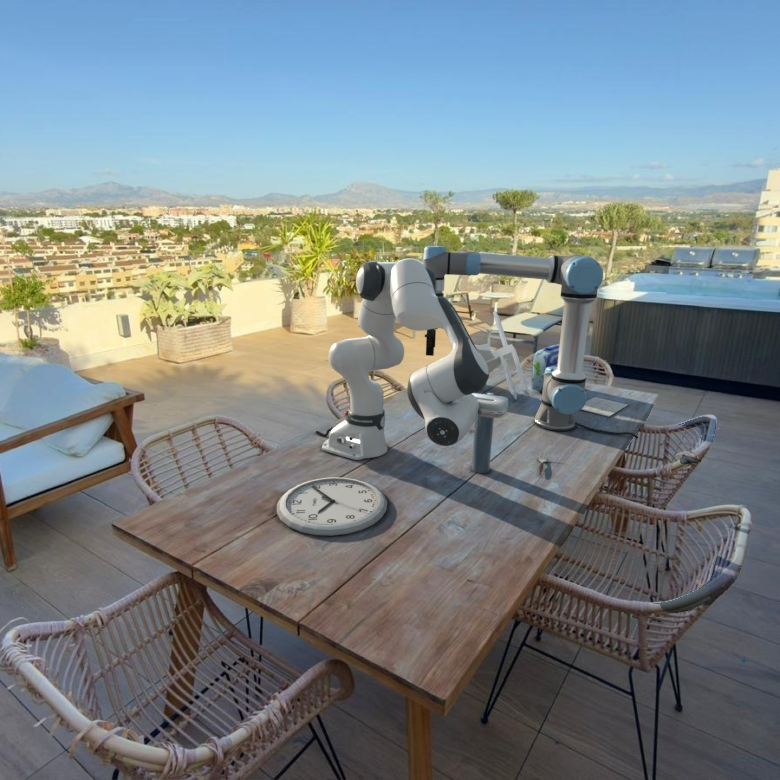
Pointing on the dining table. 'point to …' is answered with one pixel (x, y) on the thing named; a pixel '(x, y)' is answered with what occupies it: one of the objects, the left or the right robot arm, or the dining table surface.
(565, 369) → the right robot arm
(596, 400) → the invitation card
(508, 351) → the white plastic object
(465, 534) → the dining table surface
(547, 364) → the lunch box
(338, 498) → the wall clock
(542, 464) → the fork
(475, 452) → the bottle
